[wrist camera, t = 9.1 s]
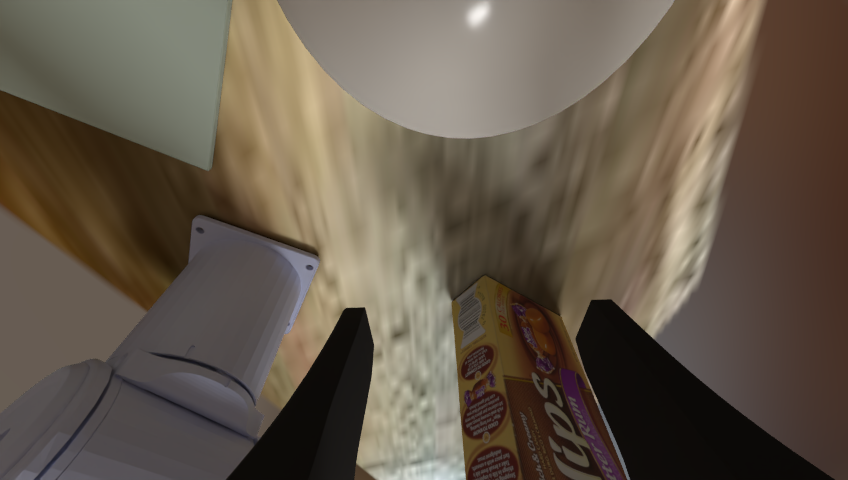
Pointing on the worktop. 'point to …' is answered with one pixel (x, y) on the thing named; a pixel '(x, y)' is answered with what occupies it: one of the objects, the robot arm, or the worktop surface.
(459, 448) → the worktop surface
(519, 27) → the lid
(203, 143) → the mat
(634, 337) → the robot arm
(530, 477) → the candy box
